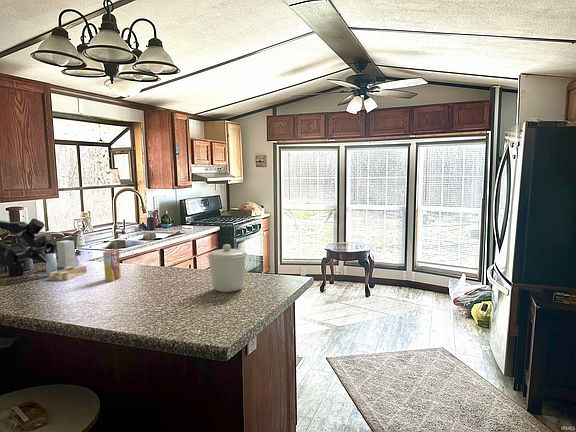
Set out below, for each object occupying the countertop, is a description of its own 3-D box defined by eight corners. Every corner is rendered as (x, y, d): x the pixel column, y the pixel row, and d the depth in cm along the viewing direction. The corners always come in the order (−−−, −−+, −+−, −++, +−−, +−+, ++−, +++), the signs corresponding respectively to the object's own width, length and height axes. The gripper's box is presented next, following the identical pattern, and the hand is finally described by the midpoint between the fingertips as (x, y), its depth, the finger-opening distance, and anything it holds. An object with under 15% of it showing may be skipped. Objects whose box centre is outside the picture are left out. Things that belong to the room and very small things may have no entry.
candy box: (113, 277, 211) (111, 248, 209) (121, 277, 210) (119, 248, 209) (104, 281, 202) (102, 251, 200) (112, 281, 201) (111, 251, 200)
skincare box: (76, 266, 238) (74, 240, 236) (65, 268, 232) (63, 242, 230) (68, 265, 242) (67, 239, 240) (57, 267, 236) (55, 241, 235)
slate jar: (47, 277, 212) (45, 255, 211) (46, 275, 216) (44, 253, 215) (58, 276, 215) (56, 254, 214) (56, 274, 219) (55, 252, 218)
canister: (240, 296, 174) (239, 248, 172) (201, 294, 178) (199, 247, 176) (252, 284, 192) (251, 241, 189) (216, 283, 195) (215, 240, 193)
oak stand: (49, 279, 207) (49, 273, 207) (69, 272, 223) (69, 266, 223) (68, 280, 206) (67, 273, 206) (86, 272, 222) (86, 266, 222)
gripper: (27, 232, 204) (49, 253, 204) (52, 227, 223) (72, 247, 223) (14, 247, 206) (36, 268, 206) (40, 241, 224) (60, 260, 224)
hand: (52, 260), depth 215 cm, fingers open, 9 cm apart
